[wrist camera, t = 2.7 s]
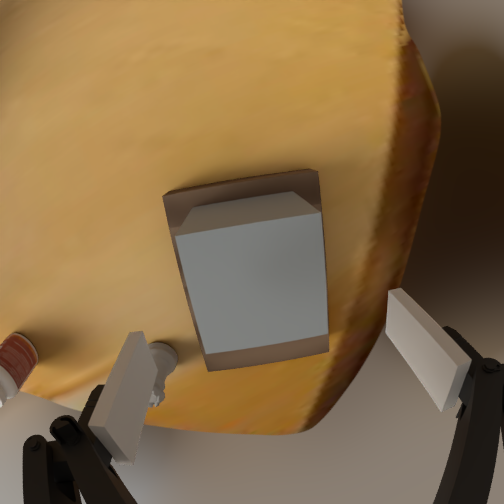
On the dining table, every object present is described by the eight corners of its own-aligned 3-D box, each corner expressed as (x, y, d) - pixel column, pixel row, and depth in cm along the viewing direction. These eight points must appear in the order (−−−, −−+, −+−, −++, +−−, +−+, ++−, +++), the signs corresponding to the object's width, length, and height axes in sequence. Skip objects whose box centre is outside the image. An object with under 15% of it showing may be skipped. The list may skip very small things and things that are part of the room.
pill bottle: (10, 324, 33) (-30, 367, 23) (41, 346, 34) (6, 395, 24) (8, 350, 35) (-26, 393, 24) (37, 371, 36) (7, 418, 26)
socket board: (168, 191, 29) (162, 196, 26) (309, 168, 29) (317, 171, 26) (209, 355, 36) (208, 371, 33) (322, 337, 36) (329, 351, 33)
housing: (192, 207, 27) (175, 236, 18) (292, 191, 27) (320, 212, 18) (211, 297, 30) (205, 354, 21) (302, 282, 30) (327, 333, 21)
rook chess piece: (158, 372, 36) (147, 416, 29) (136, 348, 35) (120, 391, 27) (185, 360, 36) (177, 406, 28) (163, 334, 35) (150, 379, 27)
